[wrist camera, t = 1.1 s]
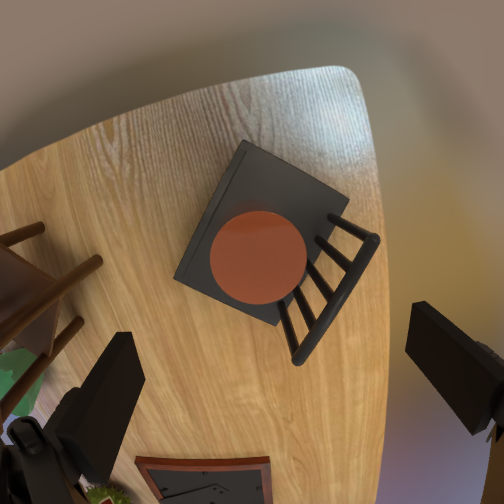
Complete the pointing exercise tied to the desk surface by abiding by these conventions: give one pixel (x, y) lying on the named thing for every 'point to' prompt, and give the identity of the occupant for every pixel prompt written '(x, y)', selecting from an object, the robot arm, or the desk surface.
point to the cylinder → (257, 253)
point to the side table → (33, 310)
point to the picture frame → (208, 480)
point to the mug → (9, 371)
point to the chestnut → (106, 496)
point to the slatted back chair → (303, 218)
